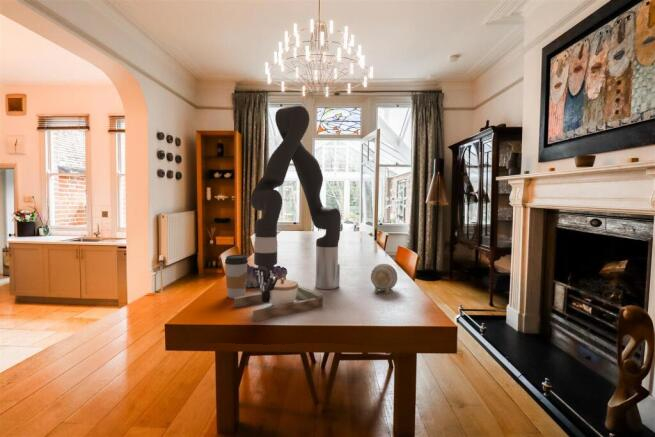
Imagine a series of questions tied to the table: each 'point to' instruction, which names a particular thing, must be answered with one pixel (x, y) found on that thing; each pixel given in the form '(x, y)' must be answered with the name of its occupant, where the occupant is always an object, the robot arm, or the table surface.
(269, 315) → the channel
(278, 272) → the geode
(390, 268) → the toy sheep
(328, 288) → the robot arm
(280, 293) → the lidded jar
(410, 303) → the table surface
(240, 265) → the coffee cup
